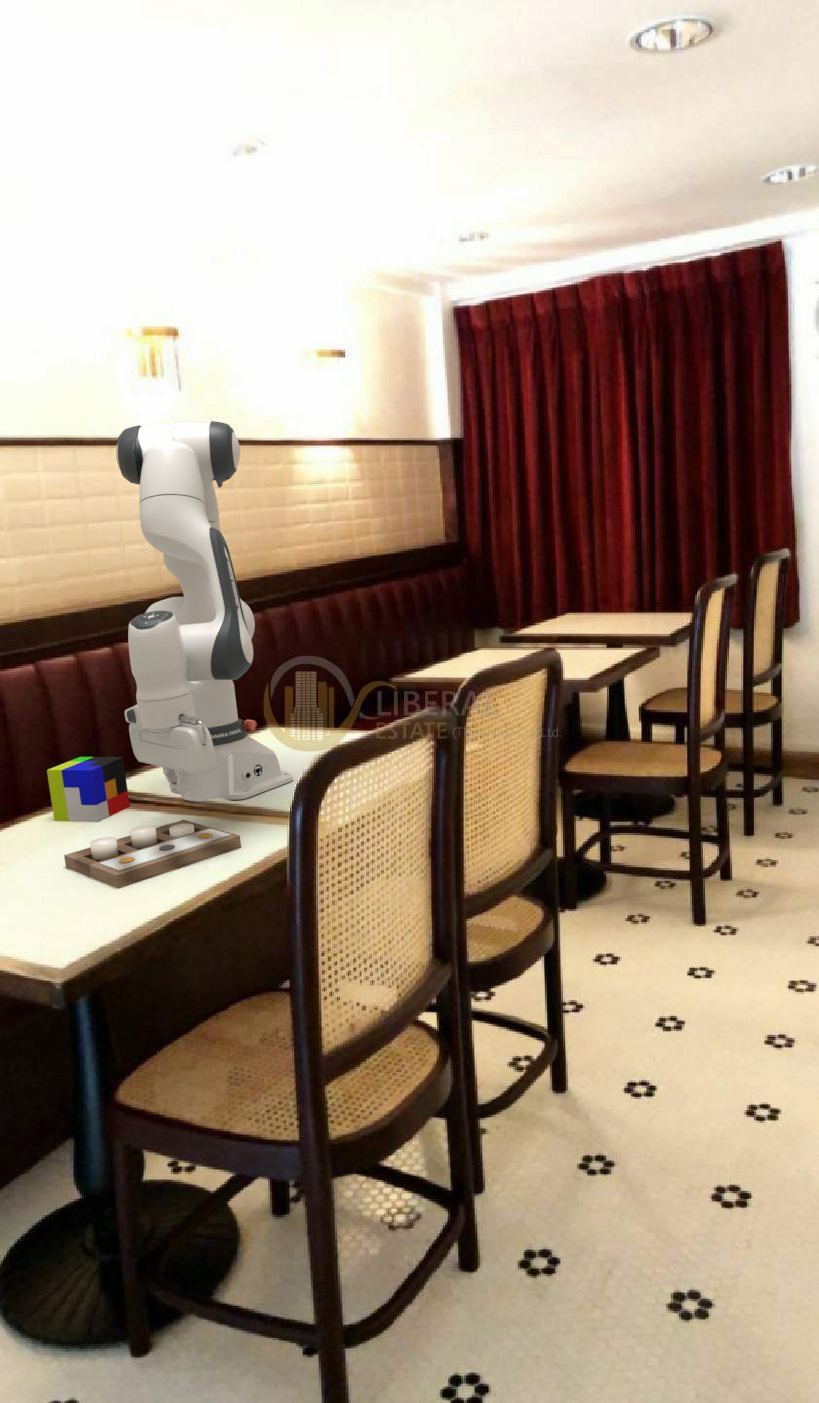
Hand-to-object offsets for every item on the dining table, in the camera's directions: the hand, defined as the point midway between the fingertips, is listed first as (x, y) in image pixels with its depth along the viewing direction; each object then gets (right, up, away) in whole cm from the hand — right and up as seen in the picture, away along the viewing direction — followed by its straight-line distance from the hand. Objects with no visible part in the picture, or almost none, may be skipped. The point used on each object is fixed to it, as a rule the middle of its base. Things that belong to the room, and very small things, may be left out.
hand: (180, 793), depth 180 cm
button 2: (0, -8, +1) cm, 8 cm away
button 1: (-10, -9, -9) cm, 16 cm away
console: (-3, -11, -6) cm, 13 cm away
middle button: (-5, -8, -4) cm, 10 cm away
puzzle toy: (-23, -7, +28) cm, 37 cm away
